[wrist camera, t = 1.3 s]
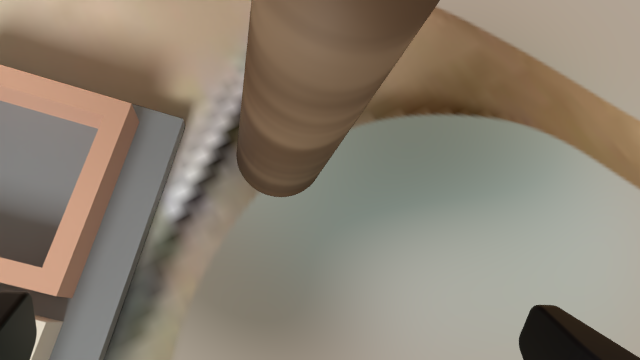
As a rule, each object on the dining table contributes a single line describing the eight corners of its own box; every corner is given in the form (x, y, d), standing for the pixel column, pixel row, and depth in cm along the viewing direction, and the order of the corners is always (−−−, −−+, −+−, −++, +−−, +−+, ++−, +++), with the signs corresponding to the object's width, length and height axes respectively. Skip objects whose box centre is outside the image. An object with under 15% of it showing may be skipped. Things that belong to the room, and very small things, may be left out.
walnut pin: (310, 207, 23) (431, 62, 10) (225, 183, 23) (233, -4, 9) (330, 129, 24) (462, -95, 11) (250, 104, 24) (287, -159, 11)
